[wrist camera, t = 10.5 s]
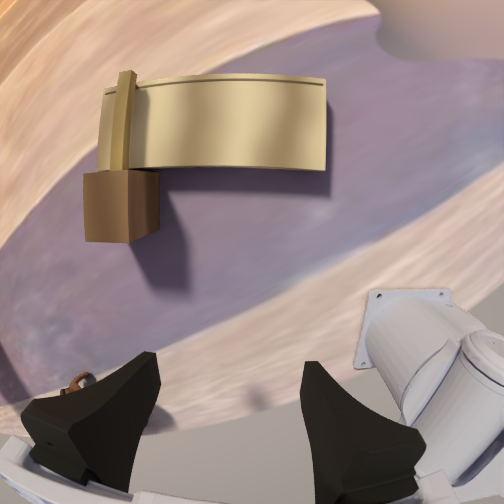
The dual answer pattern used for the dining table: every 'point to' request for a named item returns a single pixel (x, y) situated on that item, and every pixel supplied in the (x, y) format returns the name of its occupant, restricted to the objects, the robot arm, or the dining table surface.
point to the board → (222, 123)
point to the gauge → (121, 183)
